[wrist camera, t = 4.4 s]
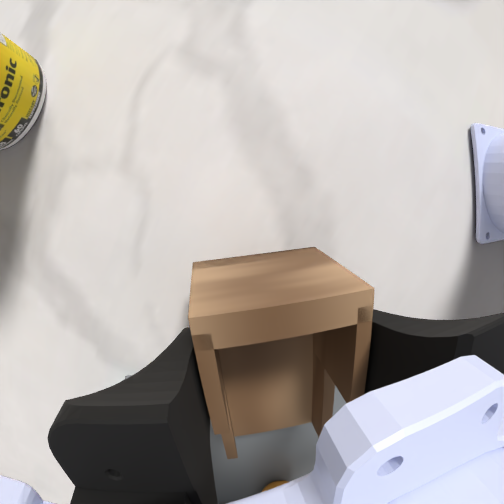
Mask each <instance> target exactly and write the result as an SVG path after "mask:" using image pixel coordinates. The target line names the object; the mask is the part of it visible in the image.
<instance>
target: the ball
mask: <svg viewBox="0 0 504 504" xmlns="http://www.w3.org/2000/svg"><path fill="white" fill-rule="evenodd" d="M288 482H289V481H275V482H272V483H270V484H268V485H267V486H266V487H265V488H264V489H263V490H262V492H264V491H267V490H269V489H272V488H275V487H277V486H280V485H282V484H285V483H288Z"/></svg>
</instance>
